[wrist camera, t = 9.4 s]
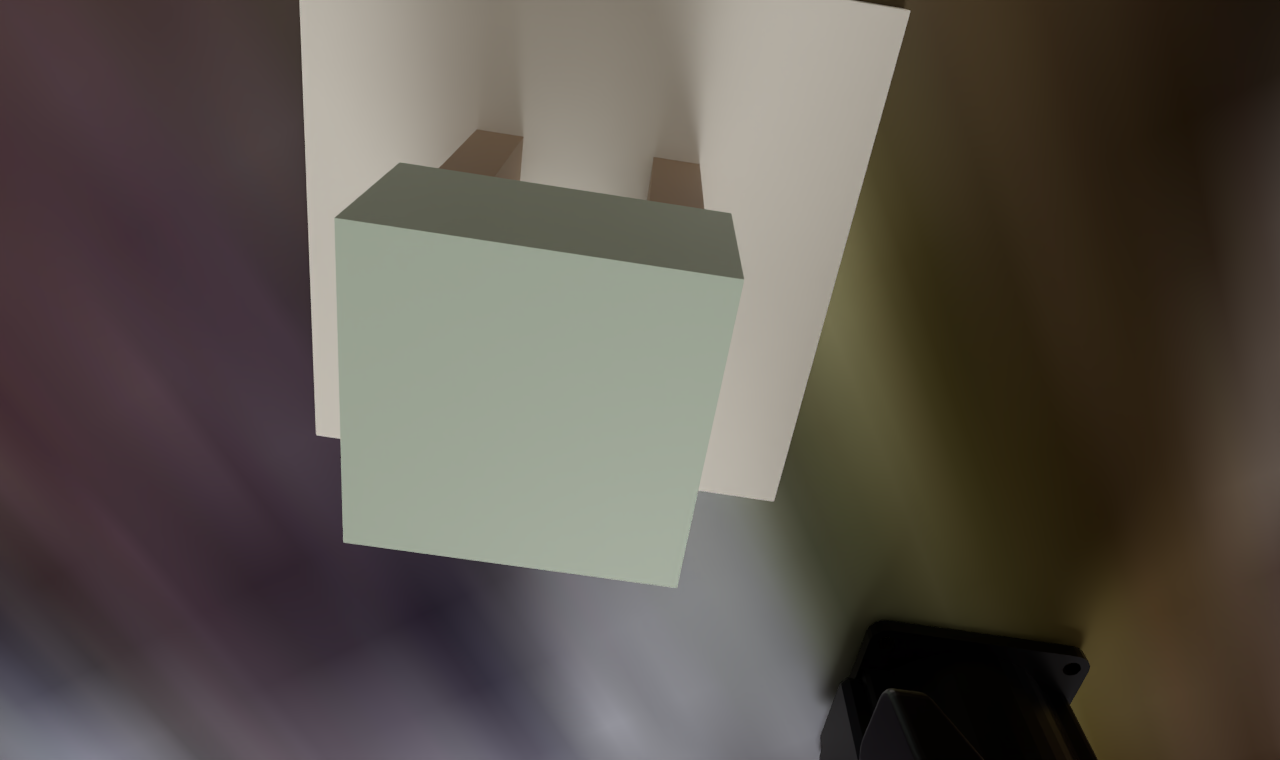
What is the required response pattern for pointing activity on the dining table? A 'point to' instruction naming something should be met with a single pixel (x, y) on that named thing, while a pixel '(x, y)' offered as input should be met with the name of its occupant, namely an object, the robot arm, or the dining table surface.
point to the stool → (530, 363)
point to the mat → (623, 148)
